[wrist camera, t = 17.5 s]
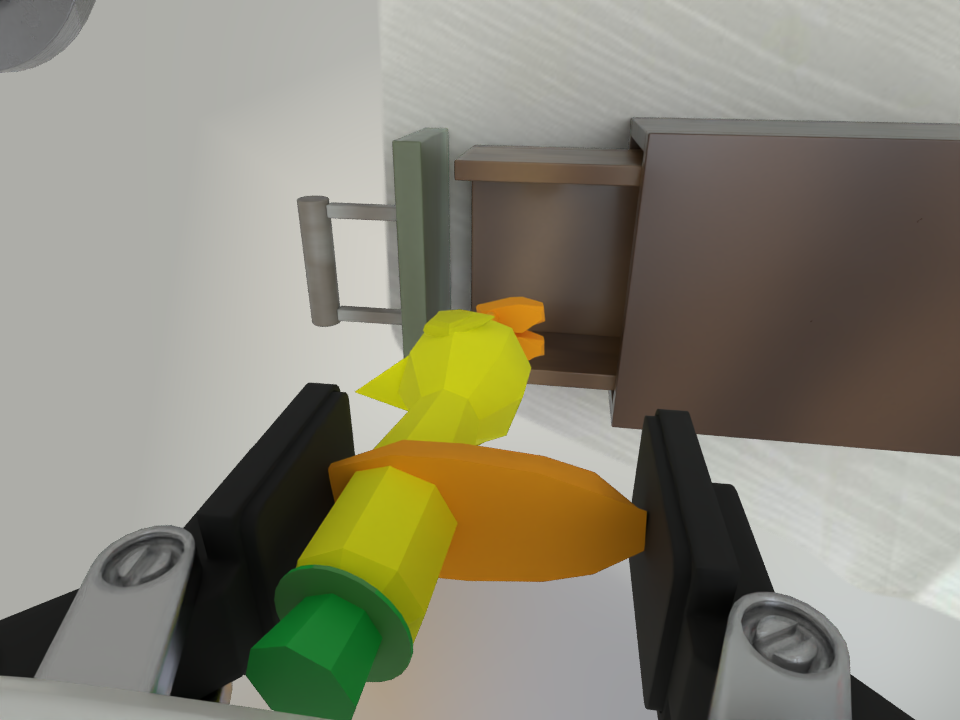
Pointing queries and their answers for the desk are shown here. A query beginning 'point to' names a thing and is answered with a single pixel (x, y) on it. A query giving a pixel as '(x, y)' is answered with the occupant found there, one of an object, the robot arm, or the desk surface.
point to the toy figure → (433, 515)
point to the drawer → (501, 245)
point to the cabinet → (796, 282)
